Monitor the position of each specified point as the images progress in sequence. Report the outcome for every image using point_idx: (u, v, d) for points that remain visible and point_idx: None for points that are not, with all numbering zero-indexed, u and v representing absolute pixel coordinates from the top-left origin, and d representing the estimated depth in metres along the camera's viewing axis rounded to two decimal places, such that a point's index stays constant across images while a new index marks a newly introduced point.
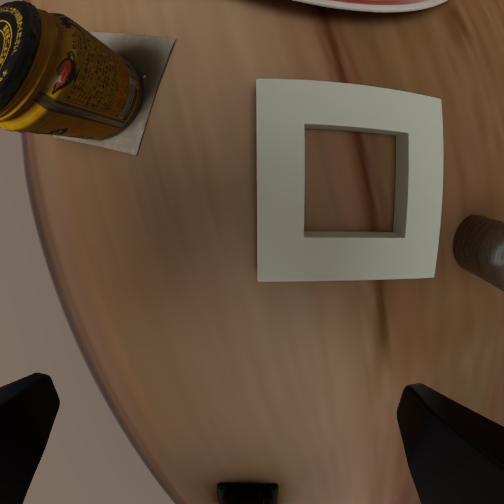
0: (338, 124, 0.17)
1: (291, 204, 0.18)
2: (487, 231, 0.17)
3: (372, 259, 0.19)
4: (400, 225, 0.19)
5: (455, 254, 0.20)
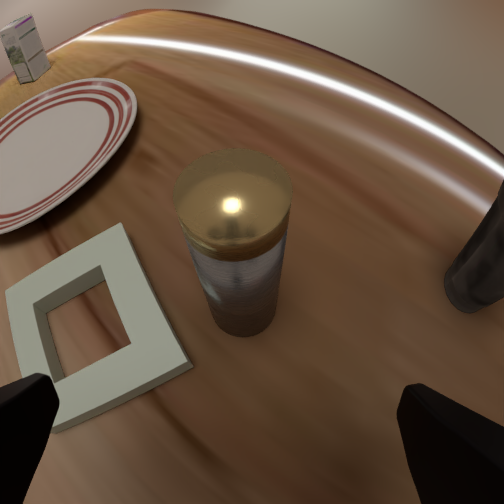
0: (51, 291, 0.20)
1: (38, 363, 0.17)
2: None
3: (111, 376, 0.17)
4: None
5: (223, 329, 0.21)
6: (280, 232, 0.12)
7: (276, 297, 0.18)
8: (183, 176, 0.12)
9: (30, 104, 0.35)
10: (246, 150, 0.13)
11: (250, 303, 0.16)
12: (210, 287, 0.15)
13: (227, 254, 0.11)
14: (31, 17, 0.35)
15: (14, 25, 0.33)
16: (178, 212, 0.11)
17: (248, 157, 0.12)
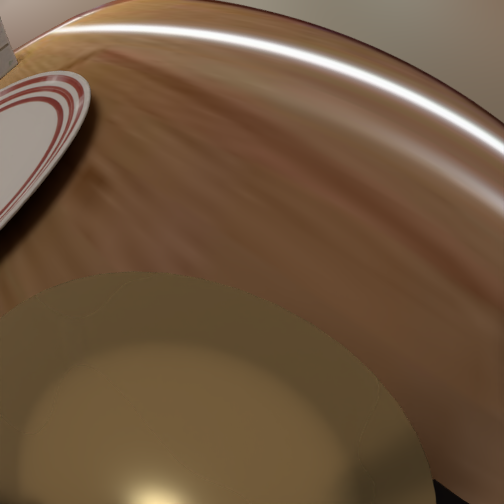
0: None
1: None
2: None
3: None
4: None
5: None
6: None
7: None
8: None
9: None
10: (200, 288, 0.02)
11: None
12: None
13: None
14: None
15: None
16: None
17: (209, 350, 0.02)
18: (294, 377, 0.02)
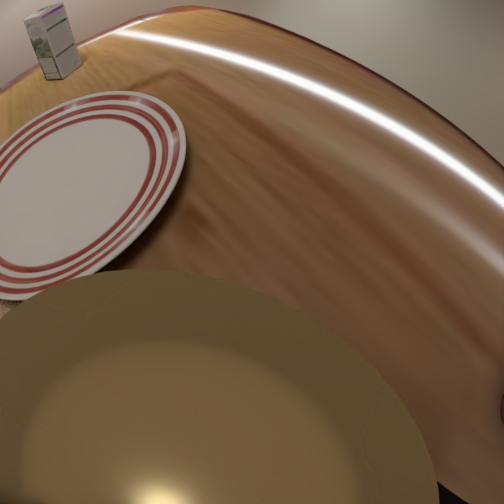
0: None
1: None
2: None
3: None
4: None
5: None
6: None
7: None
8: None
9: (54, 114, 0.32)
10: (205, 286, 0.02)
11: None
12: None
13: None
14: (62, 6, 0.33)
15: (41, 14, 0.30)
16: None
17: (213, 347, 0.02)
18: (298, 373, 0.02)
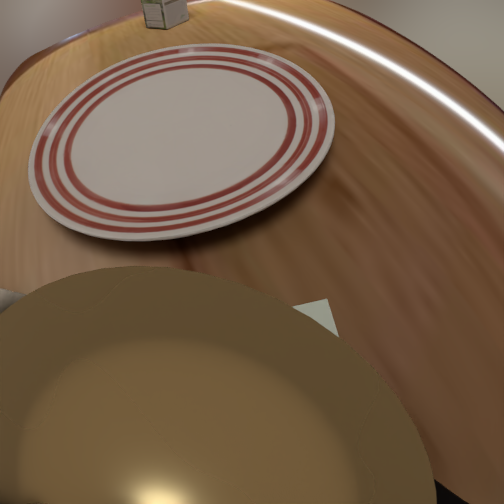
0: None
1: None
2: None
3: None
4: None
5: None
6: None
7: None
8: None
9: (166, 54, 0.31)
10: (200, 282, 0.02)
11: None
12: None
13: None
14: None
15: None
16: None
17: (207, 343, 0.02)
18: (293, 370, 0.02)
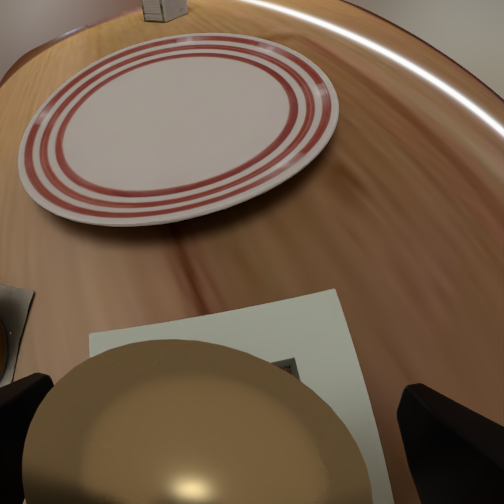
0: None
1: None
2: None
3: None
4: None
5: None
6: None
7: None
8: (37, 437, 0.03)
9: (164, 44, 0.29)
10: (221, 352, 0.04)
11: None
12: None
13: None
14: None
15: None
16: None
17: (228, 390, 0.03)
18: (280, 407, 0.03)
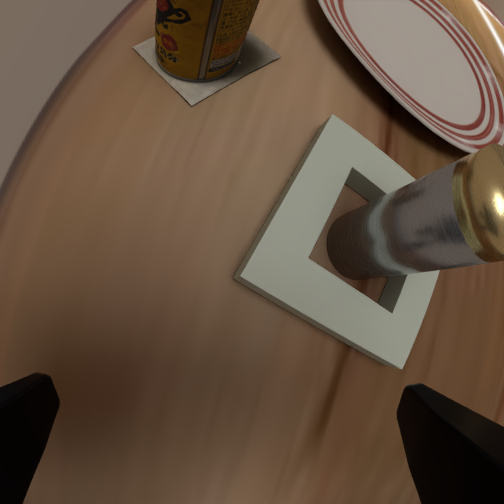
0: (376, 184, 0.19)
1: (311, 221, 0.17)
2: (366, 204, 0.17)
3: (358, 318, 0.17)
4: (388, 304, 0.19)
5: (330, 252, 0.19)
6: None
7: None
8: (491, 149, 0.09)
9: (433, 3, 0.27)
10: None
11: (406, 268, 0.14)
12: (402, 231, 0.13)
13: (477, 241, 0.09)
14: None
15: None
16: (484, 177, 0.08)
17: None
18: None
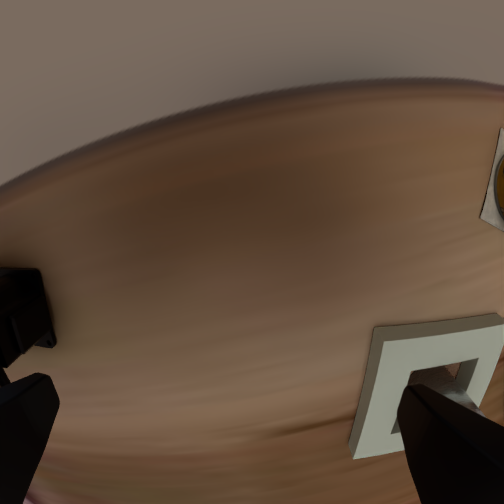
0: (472, 378, 0.20)
1: (435, 358, 0.19)
2: (458, 386, 0.18)
3: (381, 418, 0.20)
4: (394, 426, 0.22)
5: (416, 373, 0.21)
6: None
7: None
8: None
9: None
10: None
11: None
12: None
13: None
14: None
15: None
16: None
17: None
18: None
